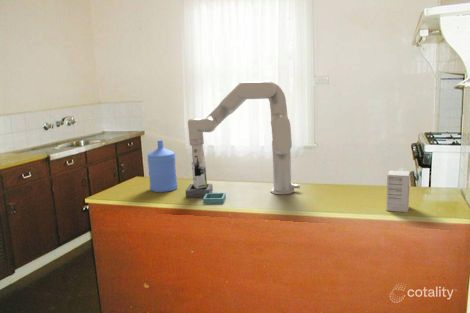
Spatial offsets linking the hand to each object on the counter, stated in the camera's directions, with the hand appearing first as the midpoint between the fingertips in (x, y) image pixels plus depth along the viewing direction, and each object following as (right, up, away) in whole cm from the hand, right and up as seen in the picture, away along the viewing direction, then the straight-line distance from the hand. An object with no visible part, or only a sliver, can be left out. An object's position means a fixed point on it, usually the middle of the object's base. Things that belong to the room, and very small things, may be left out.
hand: (199, 173), depth 234 cm
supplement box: (+94, -15, -35) cm, 101 cm away
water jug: (-22, -10, +16) cm, 29 cm away
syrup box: (0, -8, +2) cm, 8 cm away
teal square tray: (+9, -13, -10) cm, 19 cm away
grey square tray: (0, -11, +2) cm, 12 cm away
